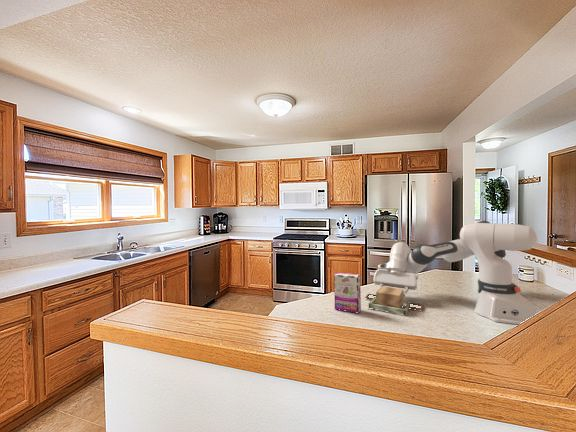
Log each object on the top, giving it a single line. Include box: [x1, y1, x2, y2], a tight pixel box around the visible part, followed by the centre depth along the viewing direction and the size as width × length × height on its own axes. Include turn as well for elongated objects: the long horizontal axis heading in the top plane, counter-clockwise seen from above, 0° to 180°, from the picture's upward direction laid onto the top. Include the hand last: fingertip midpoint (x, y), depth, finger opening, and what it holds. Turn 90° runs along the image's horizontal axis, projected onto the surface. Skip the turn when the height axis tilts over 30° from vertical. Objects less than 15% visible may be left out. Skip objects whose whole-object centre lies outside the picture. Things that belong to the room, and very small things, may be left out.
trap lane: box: [364, 293, 424, 316], centre depth 128 cm, size 26×18×2 cm
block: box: [375, 286, 405, 309], centre depth 126 cm, size 10×10×8 cm
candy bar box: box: [333, 272, 362, 314], centre depth 124 cm, size 11×5×16 cm, turn 62°
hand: (392, 294), depth 131 cm, fingers open, 8 cm apart
